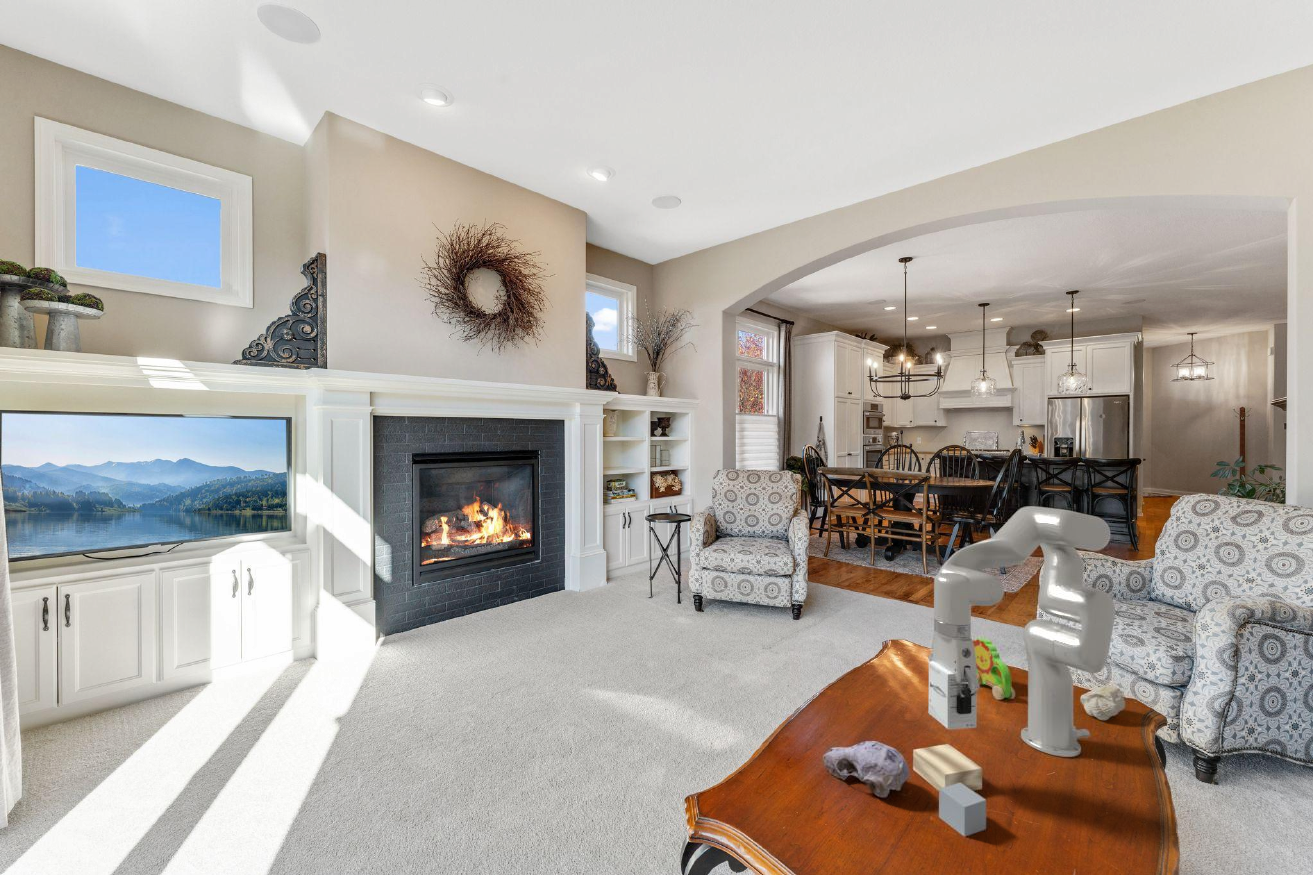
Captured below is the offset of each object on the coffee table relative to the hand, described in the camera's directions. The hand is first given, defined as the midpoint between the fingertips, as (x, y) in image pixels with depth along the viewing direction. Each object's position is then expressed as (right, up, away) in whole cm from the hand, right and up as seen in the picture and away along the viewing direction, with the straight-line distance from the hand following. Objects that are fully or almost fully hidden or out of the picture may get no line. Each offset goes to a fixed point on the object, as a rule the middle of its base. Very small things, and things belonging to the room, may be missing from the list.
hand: (952, 703), depth 126 cm
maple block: (-1, -18, +1) cm, 18 cm away
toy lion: (+37, -18, +46) cm, 62 cm away
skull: (-20, -18, 0) cm, 27 cm away
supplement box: (0, -4, 0) cm, 4 cm away
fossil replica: (+60, -18, +30) cm, 69 cm away
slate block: (-5, -18, -14) cm, 23 cm away
